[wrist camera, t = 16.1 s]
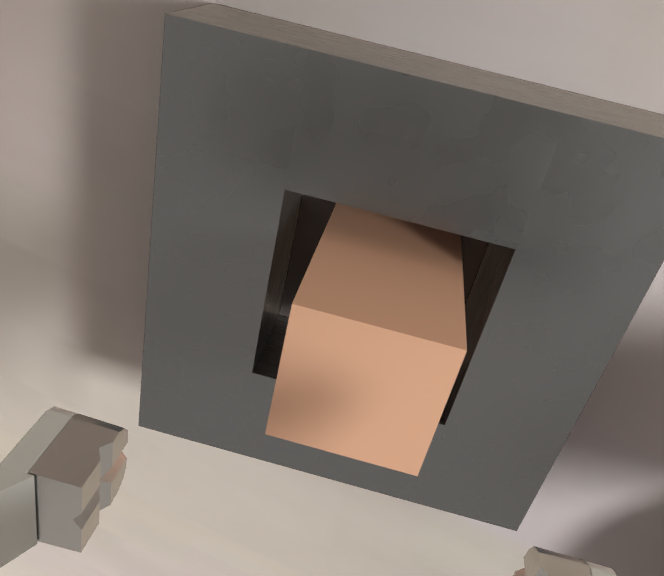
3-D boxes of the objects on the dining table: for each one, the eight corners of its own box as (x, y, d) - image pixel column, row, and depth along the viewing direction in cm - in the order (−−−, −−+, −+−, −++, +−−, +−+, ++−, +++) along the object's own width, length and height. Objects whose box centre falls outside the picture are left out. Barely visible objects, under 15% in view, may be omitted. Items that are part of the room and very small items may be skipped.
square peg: (339, 194, 22) (292, 303, 15) (460, 226, 22) (466, 350, 15) (316, 298, 25) (265, 434, 18) (425, 327, 24) (417, 476, 17)
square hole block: (214, 3, 20) (165, 13, 16) (672, 117, 19) (722, 152, 16) (177, 365, 27) (138, 425, 24) (507, 455, 27) (516, 530, 23)
